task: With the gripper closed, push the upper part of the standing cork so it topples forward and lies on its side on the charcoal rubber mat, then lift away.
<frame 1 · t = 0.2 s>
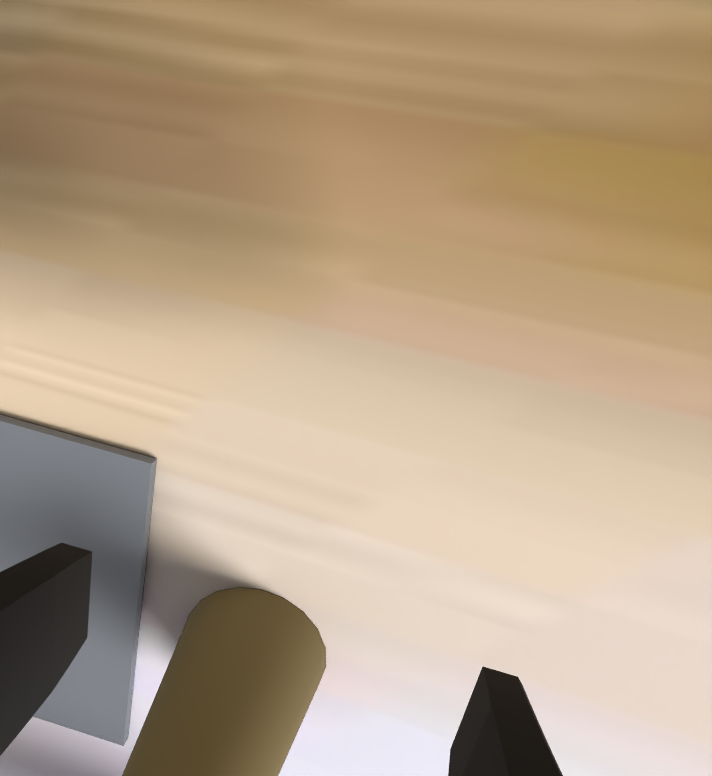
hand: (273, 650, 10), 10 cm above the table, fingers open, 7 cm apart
cork: (256, 644, 24), on the table
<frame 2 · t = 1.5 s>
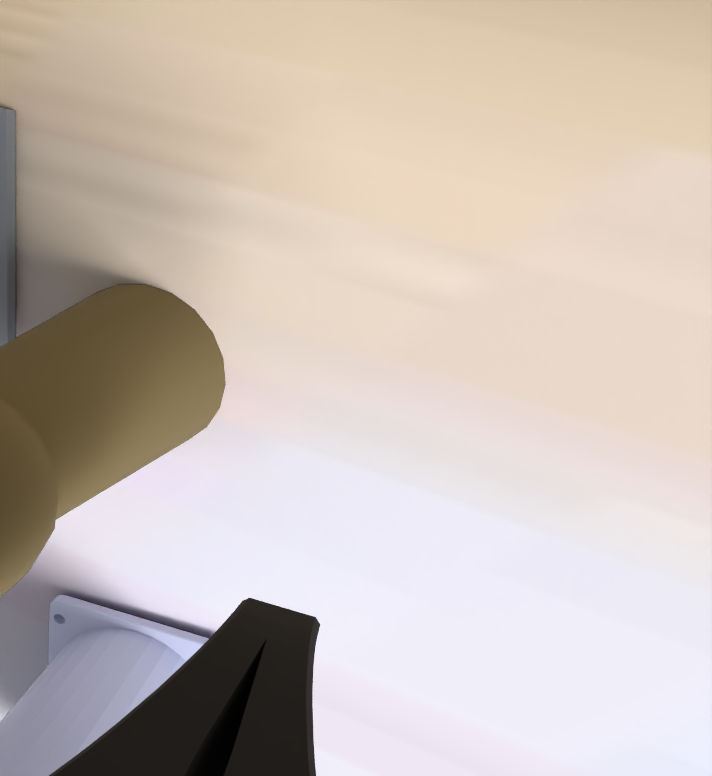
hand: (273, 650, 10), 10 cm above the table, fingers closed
cork: (147, 366, 21), on the table
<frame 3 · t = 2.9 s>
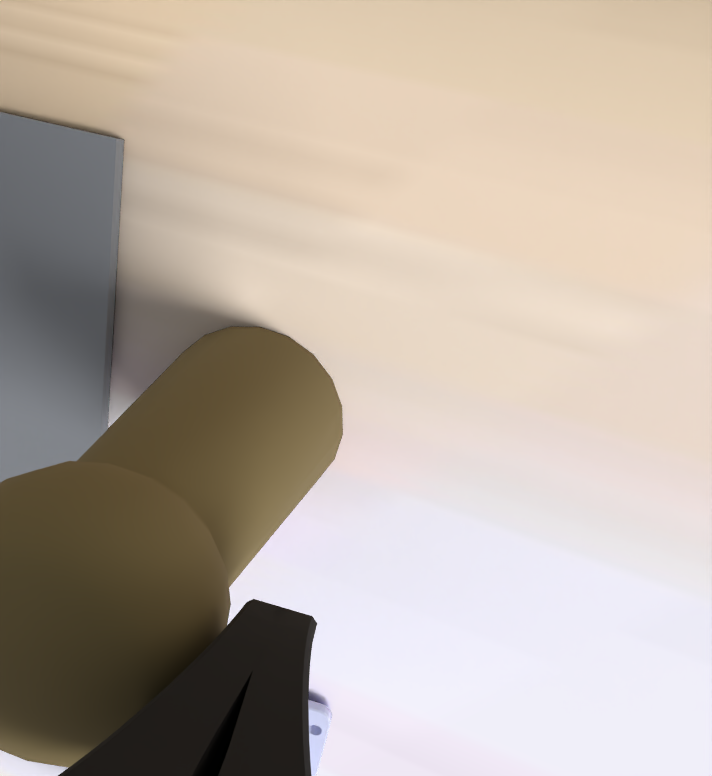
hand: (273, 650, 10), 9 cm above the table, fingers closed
cork: (254, 413, 19), on the table, touching gripper
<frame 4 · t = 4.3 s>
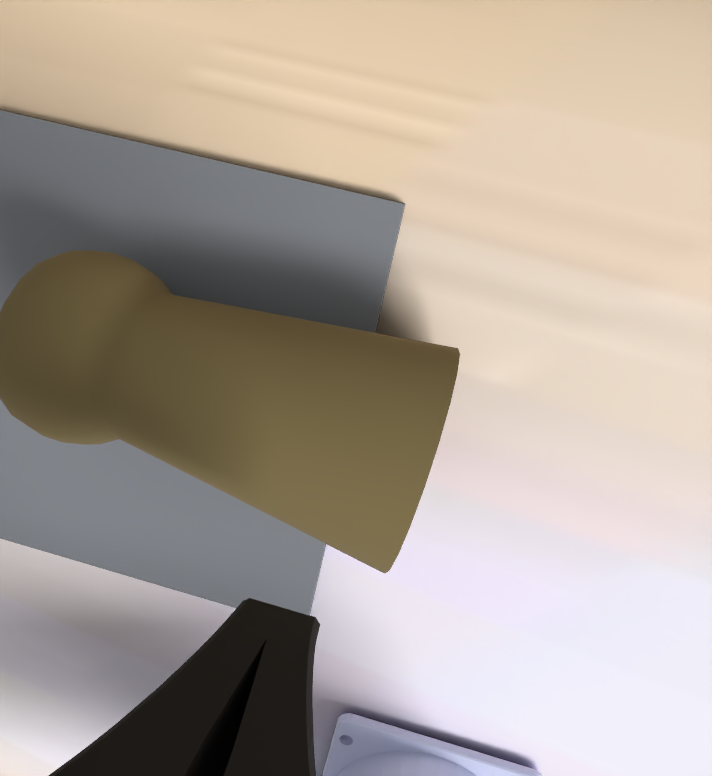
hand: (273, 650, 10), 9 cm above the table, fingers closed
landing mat: (90, 372, 19), on the table
cork: (427, 461, 15), point 3 cm above the table, touching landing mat
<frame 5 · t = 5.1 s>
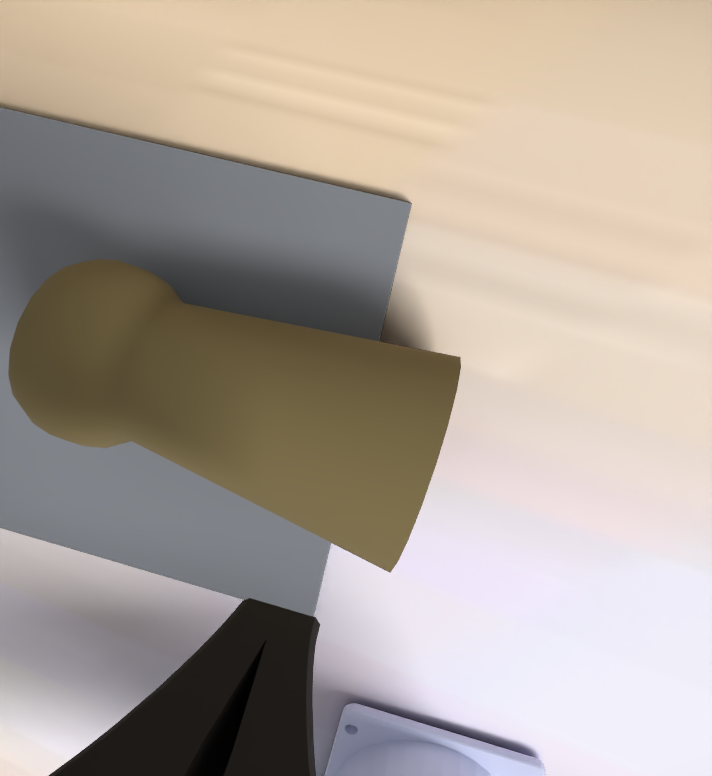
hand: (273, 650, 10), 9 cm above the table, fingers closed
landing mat: (102, 368, 20), on the table
cork: (429, 464, 16), point 3 cm above the table, touching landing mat
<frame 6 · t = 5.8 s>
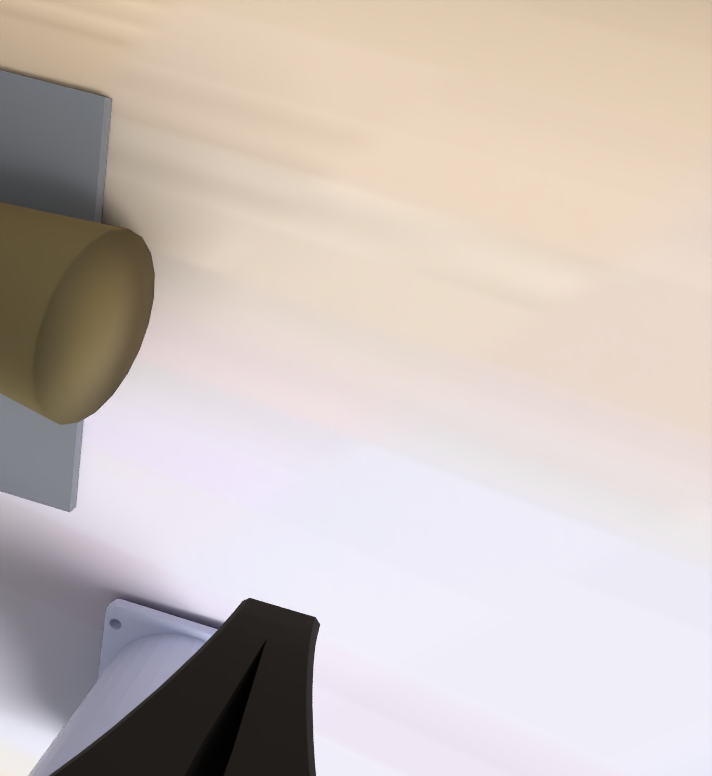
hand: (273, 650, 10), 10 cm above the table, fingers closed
cork: (108, 331, 17), point 3 cm above the table, touching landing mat
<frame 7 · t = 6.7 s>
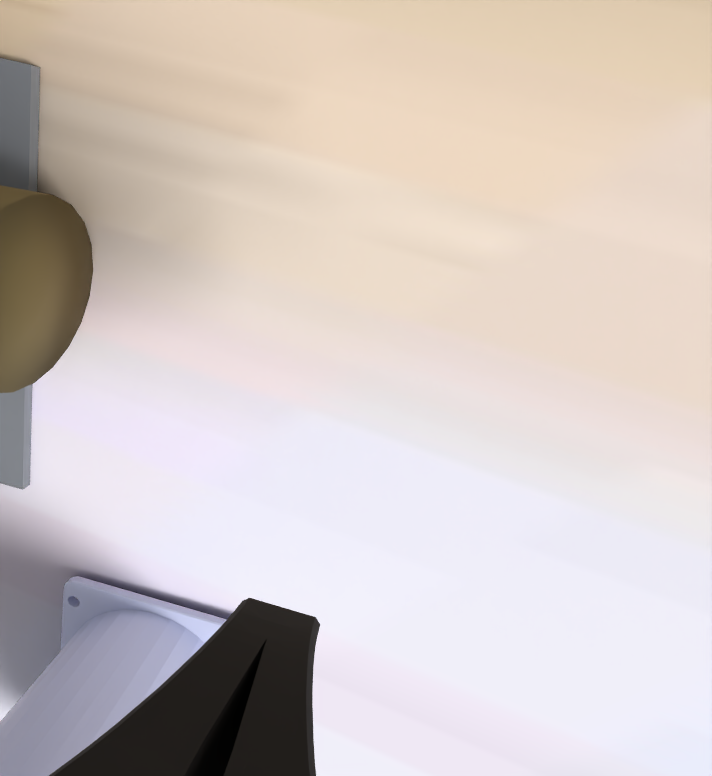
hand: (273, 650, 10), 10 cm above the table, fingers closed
cork: (38, 299, 17), point 3 cm above the table, touching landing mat
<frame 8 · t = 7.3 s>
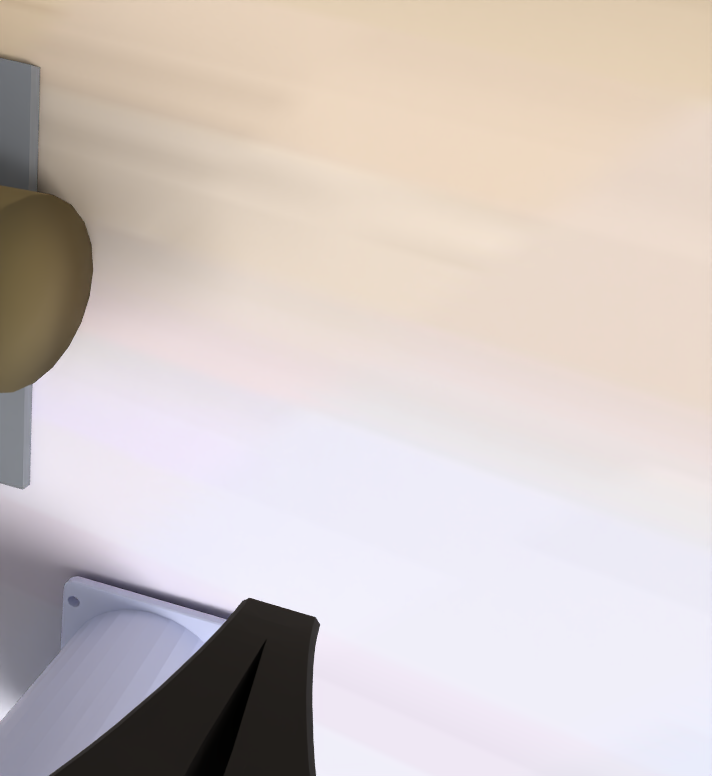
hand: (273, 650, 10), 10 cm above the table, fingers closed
cork: (38, 299, 17), point 3 cm above the table, touching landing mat
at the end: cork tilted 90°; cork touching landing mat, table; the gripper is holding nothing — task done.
